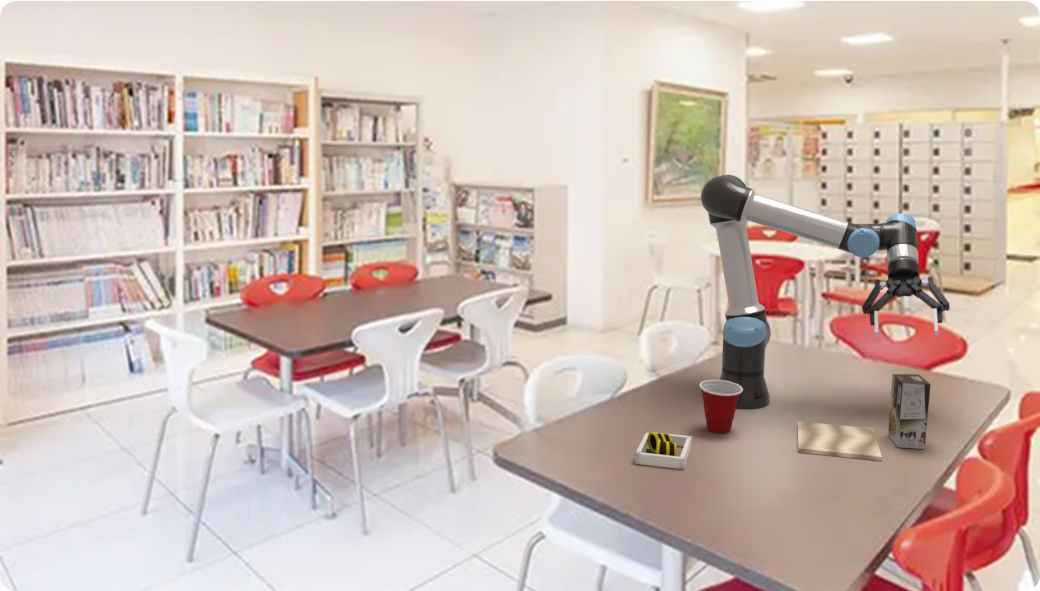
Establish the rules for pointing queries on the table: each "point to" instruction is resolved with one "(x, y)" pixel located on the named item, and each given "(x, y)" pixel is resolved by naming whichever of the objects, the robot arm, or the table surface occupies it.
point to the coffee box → (909, 410)
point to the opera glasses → (661, 444)
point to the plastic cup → (720, 404)
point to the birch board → (838, 441)
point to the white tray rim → (664, 459)
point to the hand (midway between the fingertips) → (906, 334)
